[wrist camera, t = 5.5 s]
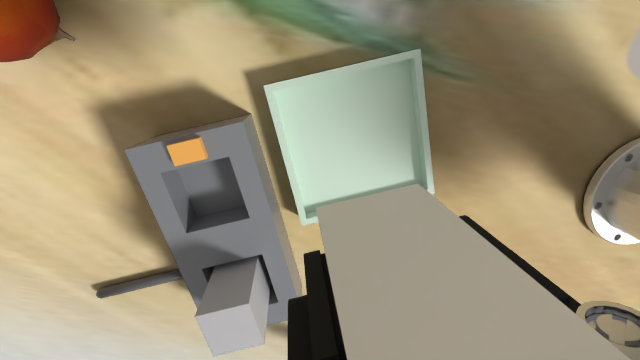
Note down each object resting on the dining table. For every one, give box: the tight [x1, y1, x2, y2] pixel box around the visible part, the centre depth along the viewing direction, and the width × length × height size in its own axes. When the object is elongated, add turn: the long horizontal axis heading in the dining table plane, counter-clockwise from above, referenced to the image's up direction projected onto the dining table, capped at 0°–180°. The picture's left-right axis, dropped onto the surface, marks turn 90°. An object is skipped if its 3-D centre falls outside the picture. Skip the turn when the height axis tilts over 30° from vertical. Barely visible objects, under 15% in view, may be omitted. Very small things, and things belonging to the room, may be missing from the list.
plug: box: [316, 184, 631, 360], centre depth 8 cm, size 4×4×8 cm
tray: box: [264, 49, 435, 226], centre depth 28 cm, size 13×13×2 cm
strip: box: [96, 114, 302, 357], centre depth 25 cm, size 20×19×10 cm
